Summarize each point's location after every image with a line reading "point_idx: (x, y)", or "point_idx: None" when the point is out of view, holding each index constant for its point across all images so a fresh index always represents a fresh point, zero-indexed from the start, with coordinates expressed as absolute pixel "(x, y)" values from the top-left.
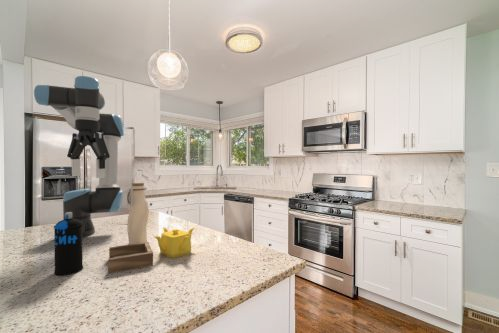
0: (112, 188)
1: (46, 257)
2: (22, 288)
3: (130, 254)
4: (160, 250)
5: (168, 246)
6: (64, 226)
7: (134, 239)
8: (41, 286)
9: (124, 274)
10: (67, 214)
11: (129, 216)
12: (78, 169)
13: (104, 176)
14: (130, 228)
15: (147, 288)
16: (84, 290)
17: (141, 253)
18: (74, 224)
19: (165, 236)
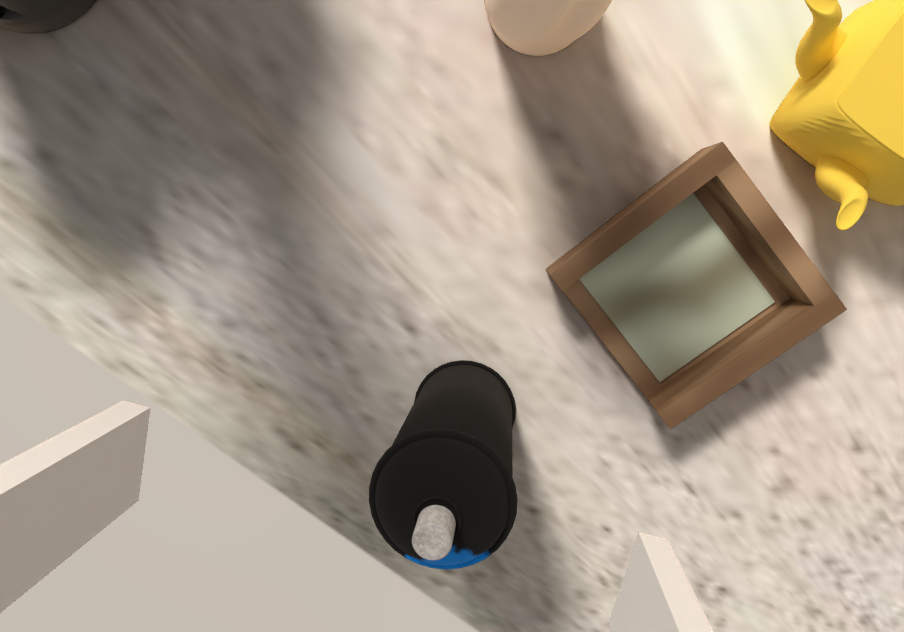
0: None
1: (232, 302)
2: None
3: (645, 233)
4: (782, 138)
5: (890, 190)
6: (471, 559)
7: (553, 46)
8: None
9: (731, 408)
10: (442, 556)
11: (532, 10)
12: (77, 479)
13: (671, 549)
14: (537, 40)
15: (897, 499)
16: None
17: (786, 328)
18: (502, 527)
19: (884, 152)
